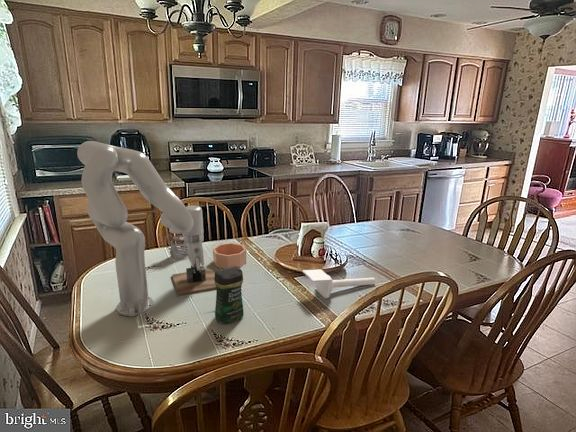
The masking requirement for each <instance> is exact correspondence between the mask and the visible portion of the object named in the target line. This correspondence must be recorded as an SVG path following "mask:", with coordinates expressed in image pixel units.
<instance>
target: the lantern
mask: <svg viewBox="0 0 576 432" xmlns="http://www.w3.org/2000/svg"><path fill="white" fill-rule="evenodd" d="M171 234H176V235H171ZM168 237H170V243H169V244H170V247H168V246H167V239H168ZM163 244H164V246H165V247H166V249H168V250H170V255H169V260H170V261H173V262H181V261H182V262H183V261H187V260H189V258H188V250H187V243H185V242H184V234H182V235H180V233H178V232H176V231H174V230H171V229H169V233H168V234H166V235H165V236H164V239H163Z"/></svg>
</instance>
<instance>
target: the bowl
mask: <svg viewBox="0 0 576 432" xmlns="http://www.w3.org/2000/svg"><path fill="white" fill-rule="evenodd" d="M212 258H213V259H212V260H213V264H214V266H215V267H216V268H218V269H219V268H220V269H226V268H230V267H235V266H237V267H238V268H242V266H243V265H247V248H246V247H245V246H244V245H243V244H241V243H234V242H229V243H221V244H218V245H216V246H215V247H214V248H212Z"/></svg>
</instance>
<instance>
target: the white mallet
mask: <svg viewBox="0 0 576 432" xmlns="http://www.w3.org/2000/svg"><path fill="white" fill-rule="evenodd" d="M302 273H303V274H304V275H305V276H306V277H307V278H308V279H309V280H310V281H311V282H312V283H316V284H315V288H316V291H317V292H318V294H320V295H321V296H322V297H323V298H324V300H325V299H329V298H330V296H331V295H330V294H331V293H332V292H333V288H344V287H345V288H346V287H359V286H360V287H361V286H372V285H376V282H377V281H376V278H375V277H365V278H364V277H363V278H348V279H332V277H331V276H330V275H329V274H327V273H326V272H325V271H324V270H322V269H321V268H320V269H304V270H303V269H302Z"/></svg>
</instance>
